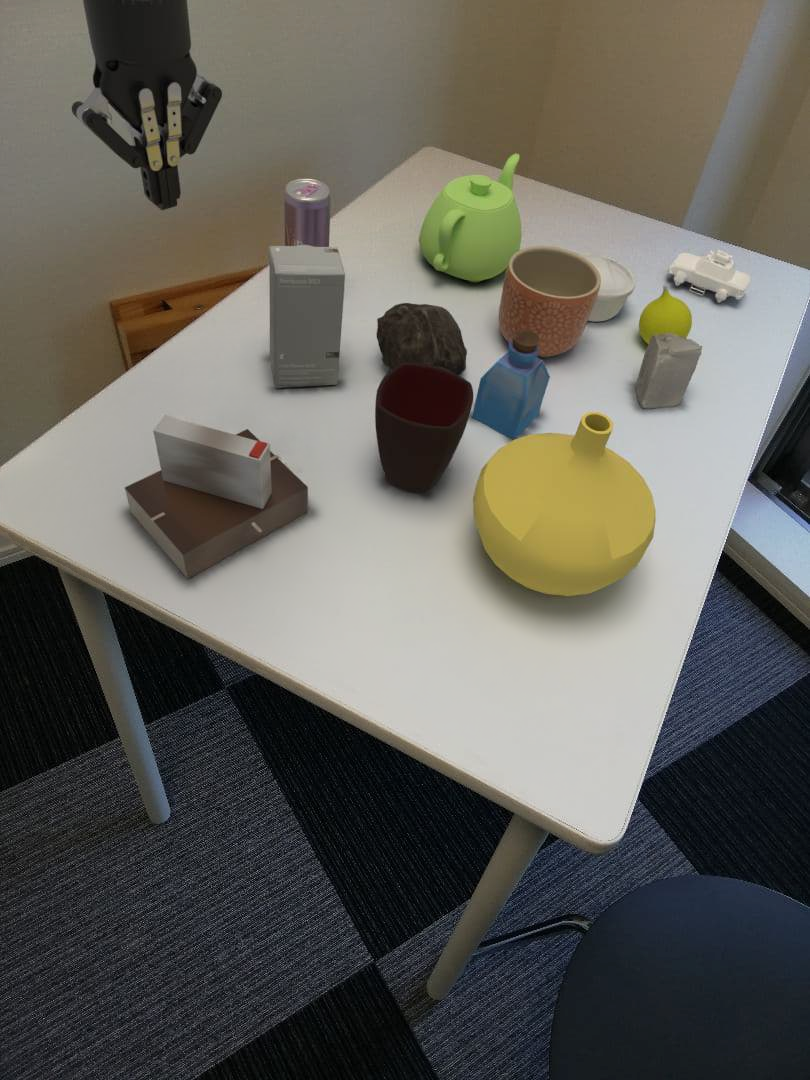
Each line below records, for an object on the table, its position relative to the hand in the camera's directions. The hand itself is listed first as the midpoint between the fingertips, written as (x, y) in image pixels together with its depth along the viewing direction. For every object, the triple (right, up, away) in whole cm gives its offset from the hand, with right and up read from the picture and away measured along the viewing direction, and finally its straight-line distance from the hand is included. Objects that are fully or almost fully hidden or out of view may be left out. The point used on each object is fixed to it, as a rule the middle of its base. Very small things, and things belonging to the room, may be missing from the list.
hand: (164, 204), depth 70 cm
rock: (+24, -8, +32) cm, 41 cm away
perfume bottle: (+35, -15, +28) cm, 47 cm away
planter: (+40, -3, +39) cm, 56 cm away
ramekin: (+49, +5, +46) cm, 67 cm away
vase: (+37, -32, +14) cm, 51 cm away
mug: (+23, -22, +21) cm, 38 cm away
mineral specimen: (+55, -11, +34) cm, 66 cm away
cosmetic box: (+9, -9, +29) cm, 32 cm away
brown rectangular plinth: (+2, -28, +13) cm, 30 cm away
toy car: (+69, +9, +52) cm, 87 cm away
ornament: (+58, -2, +41) cm, 71 cm away
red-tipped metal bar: (+2, -25, +10) cm, 27 cm away
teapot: (+32, +13, +50) cm, 61 cm away
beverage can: (+8, +5, +40) cm, 41 cm away
